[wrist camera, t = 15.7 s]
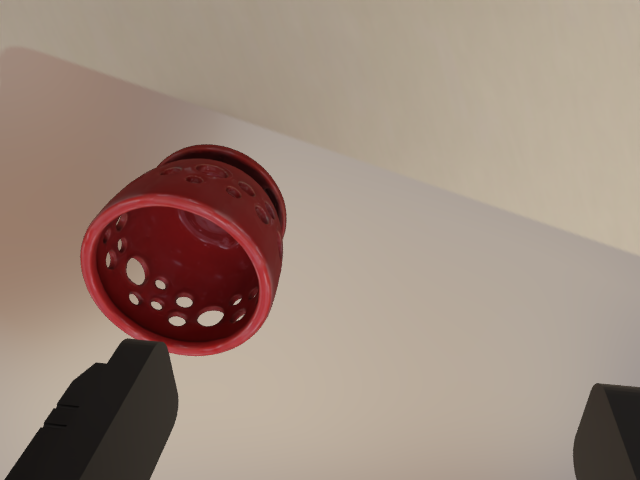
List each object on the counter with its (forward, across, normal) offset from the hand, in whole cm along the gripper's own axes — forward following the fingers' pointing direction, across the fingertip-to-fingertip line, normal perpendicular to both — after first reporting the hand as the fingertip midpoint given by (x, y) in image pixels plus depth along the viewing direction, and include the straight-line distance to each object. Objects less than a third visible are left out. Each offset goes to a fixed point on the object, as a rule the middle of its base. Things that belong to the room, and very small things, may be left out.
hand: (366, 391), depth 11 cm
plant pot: (+32, +14, +14) cm, 38 cm away
